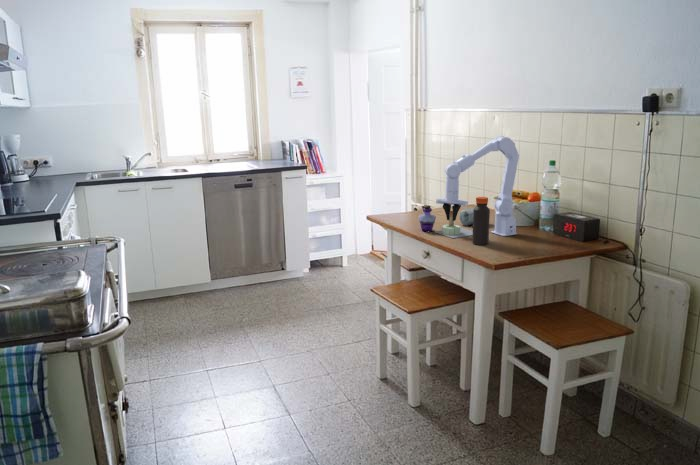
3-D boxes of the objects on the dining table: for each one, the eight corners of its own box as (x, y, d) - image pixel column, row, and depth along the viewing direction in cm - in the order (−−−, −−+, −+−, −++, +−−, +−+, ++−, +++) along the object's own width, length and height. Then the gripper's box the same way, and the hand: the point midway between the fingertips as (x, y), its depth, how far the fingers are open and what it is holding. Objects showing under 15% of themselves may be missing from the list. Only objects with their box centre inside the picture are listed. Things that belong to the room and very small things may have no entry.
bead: (463, 233, 264) (463, 227, 263) (449, 235, 260) (449, 229, 259) (452, 230, 271) (453, 223, 270) (438, 232, 267) (438, 225, 267)
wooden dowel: (454, 225, 264) (455, 211, 263) (451, 226, 263) (451, 211, 262) (451, 224, 266) (451, 210, 265) (447, 225, 265) (448, 210, 263)
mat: (481, 234, 263) (481, 233, 263) (452, 238, 256) (452, 237, 256) (462, 228, 276) (462, 227, 275) (434, 232, 269) (434, 231, 269)
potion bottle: (430, 227, 278) (431, 203, 275) (439, 231, 270) (439, 206, 267) (414, 229, 275) (414, 204, 272) (422, 233, 267) (423, 207, 264)
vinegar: (469, 242, 249) (470, 197, 245) (482, 240, 252) (484, 195, 247) (477, 246, 243) (479, 199, 238) (491, 244, 245) (493, 198, 241)
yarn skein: (465, 221, 276) (465, 202, 278) (455, 226, 284) (456, 207, 287) (489, 226, 279) (490, 207, 282) (479, 231, 288) (480, 212, 291)
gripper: (470, 190, 261) (469, 219, 264) (440, 188, 268) (440, 217, 271) (465, 193, 255) (464, 222, 258) (434, 190, 262) (434, 219, 265)
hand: (451, 220), depth 264 cm, fingers closed on wooden dowel, 2 cm apart
